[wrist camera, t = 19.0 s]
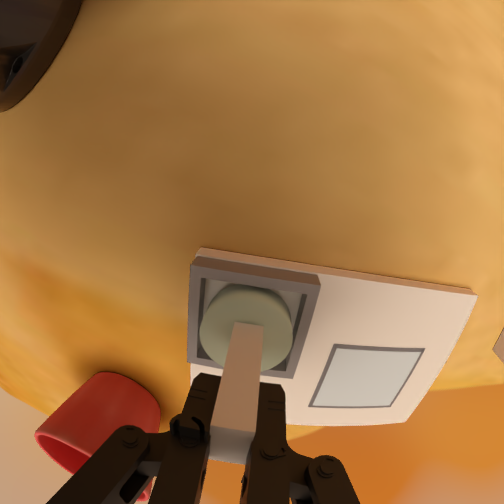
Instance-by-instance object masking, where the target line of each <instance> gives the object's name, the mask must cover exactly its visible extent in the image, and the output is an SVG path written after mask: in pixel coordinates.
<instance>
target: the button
mask: <svg viewBox="0 0 504 504" xmlns="http://www.w3.org/2000/svg"><path fill="white" fill-rule="evenodd" d="M234 322H240V323H247V324H253V325H259V326H264V330H263V345H262V358H261V372H262V371H265V370H268V369H271V368H273V367H275V366H276V365H278V364H279V363H280V362H282V361H283V360H284V359H285V357H286V356H287V355H288V353H289V351H290V349H291V346H292V339H293V336H292V324H291V315H290V311H289V308H288V306H287V304H286V303H285V302H284V300H283V299H282V298H281V297H280V296H279V295H278V294H277V293H275V292H274V291H272V290H270V289H268V288H262V287H255V286H249V285H243V284H236V285H232V286H229V287H227V288H225V289H223V290H221V291H220V292H219V293H217V294H216V295H215V296H214V297H213V299H212V300H211V302H210V304H209V306H208V308H207V310H206V313H205V315H204V318H203V320H202V323H201V326H200V341H201V344H202V346H203V348H204V350H205V352H206V353H207V354H208V355H209V357H210V358H211V359H212V360H214V361H215V362H216V363H218V364H219V365H221V366H223V367H224V365H225V360H226V356H227V352H228V348H229V344H230V339H231V335H232V331H233V327H234Z"/></svg>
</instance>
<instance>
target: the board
mask: <svg viewBox="0 0 504 504" xmlns="http://www.w3.org/2000/svg"><path fill="white" fill-rule="evenodd" d="M236 284H243V285H249V286H255V287H262V288H268V289H270V290H272V291H274V292H275V293H277V294H278V295H279V296H280V297H281V298H282V299H283V300H284V302H285V303H286V304H287V306H288V308H289V311H290V315H291V324H292V336H293V339H292V346H291V349H290V351H289V353H288V355H287V356H286V357H285V359H284V360H283V361H282V362H280V363H279V364H278V365H276V366H275V367H273V368H271V369H268V370H265V371H262V372H260V382H266V383H274V384H281V386H282V388H283V390H284V391H285V397H286V403H285V404H286V411H285V412H286V424H293V425H313V426H357V425H358V426H359V425H377V424H391V423H401V422H405V421H406V420H407V419H408V418H409V416H410V415H411V414H412V412H413V411H414V410H415V408H416V407H417V405H418V404H419V403H420V401H421V400H422V398H423V397H424V396H425V394H426V393H427V391H428V390H429V388H430V387H431V385H432V384H433V382H434V380H435V379H436V377H437V376H438V374H439V372H440V371H441V369H442V367H443V366H444V364H445V362H446V361H447V359H448V357H449V355H450V354H451V352H452V350H453V348H454V346H455V344H456V343H457V341H458V339H459V337H460V335H461V333H462V331H463V329H464V327H465V325H466V323H467V320H468V318H469V316H470V314H471V312H472V309H473V307H474V305H475V302H476V300H477V298H478V295H477V294H475V293H474V292H473V291H472V290H471V289H467V288H460V287H454V286H447V285H441V284H434V283H427V282H421V281H414V280H408V279H401V278H395V277H388V276H382V275H375V274H369V273H362V272H356V271H349V270H343V269H337V268H330V267H324V266H317V265H311V264H304V263H298V262H292V261H285V260H279V259H273V258H266V257H260V256H254V255H247V254H241V253H235V252H228V251H222V250H216V249H210V248H203V247H200V249H199V250H198V251H197V253H196V256H195V259H194V261H193V262H192V264H191V265H190V281H189V303H188V337H187V362H188V363H191V385H192V382H193V379H194V378H195V377H196V376H197V375H198V374H199V373H200V372H202V373H207V374H212V375H217V376H222V373H223V369H224V367H223V366H221V365H219V364H218V363H216V362H215V361H214V360H212V359H211V358H210V357H209V355H208V354H207V353H206V352H205V350H204V348H203V346H202V344H201V341H200V326H201V323H202V320H203V318H204V315H205V313H206V310H207V308H208V306H209V304H210V302H211V300H212V299H213V297H214V296H215V295H216V294H217V293H219V292H220V291H221V290H223V289H225V288H227V287H229V286H232V285H236Z"/></svg>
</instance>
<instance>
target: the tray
mask: <svg viewBox="0 0 504 504" xmlns="http://www.w3.org/2000/svg"><path fill="white" fill-rule="evenodd" d="M493 351H494V352H495V354H496V355H497V356H498V357H499V358H500V360H501V361H502V362H503V363H504V329H503V331H502V333H501V335H500V337H499V339H498V341H497V342H496V344H495V346H494V348H493Z"/></svg>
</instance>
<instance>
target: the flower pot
mask: <svg viewBox="0 0 504 504" xmlns="http://www.w3.org/2000/svg"><path fill="white" fill-rule="evenodd" d="M160 417H161V411H160V407H159V405H158V403H157V401H156V400H155V398H154V397H153V396H152V395H151V394H150V393H149V392H148V391H147V390H146V389H145V388H143V387H142V386H141V385H139V384H138V383H136V382H135V381H133V380H131V379H129V378H127V377H125V376H122V375H119V374H116V373H111V372H100V373H97V374H95V375H94V376H93V377H91V378H90V379H89V380H88V381H87V382H86V383H84V384H83V385H82V386H81V387H80V388H79V389H78V390H77V391H75V392H74V393H73V394H72V395H71V396H70V397H69V398H68V399H67V400H66V401H65V402H64V403H63V404H62V405H61V406H60V407H59V408H58V409H57V410H56V411H55V412H54V413H53V414H52V415H51V416H50V417H49V418H48V419H47V420H46V421H45V422H44V423H43V424H42V425H41V426H40V427H39V428H38V429H37V430H36V432H35V439H36V441H37V443H38V444H39V446H40V447H41V448H42V449H43V450H44V452H45V453H46V454H47V455H48V456H49V457H51V458H52V459H53V460H54V461H55V462H56V463H57V464H59V465H60V466H61V467H63V468H64V469H65V470H67V471H68V472H70V473H71V474H73V475H74V474H75V473H76V472H77V471H78V470H79V469H80V468H81V467H82V465H83V464H84V463H85V462H86V461H87V460H88V459H89V458H90V457H91V456H92V455H93V454H94V453H95V452H96V451H97V449H98V448H99V447H100V446H101V445H102V444H103V443H104V442H105V441H106V440H107V439H108V438H109V437H110V436H111V434H112V433H113V432H114V431H115V430H116V429H118V428H119V427H121V426H124V425H134V426H137V427H140V428H141V429H142V430H144V431H145V433H158V431H159V424H160ZM152 480H153V479H152ZM152 480H151V481H150V483H149V484H148V486H147V487H146V488H145V490H144V491H143V492H142V494H141V495H140V496H139V498H138V499H137V500H136V501H146V500H148V499H149V497H150V494H151V487H152Z"/></svg>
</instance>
